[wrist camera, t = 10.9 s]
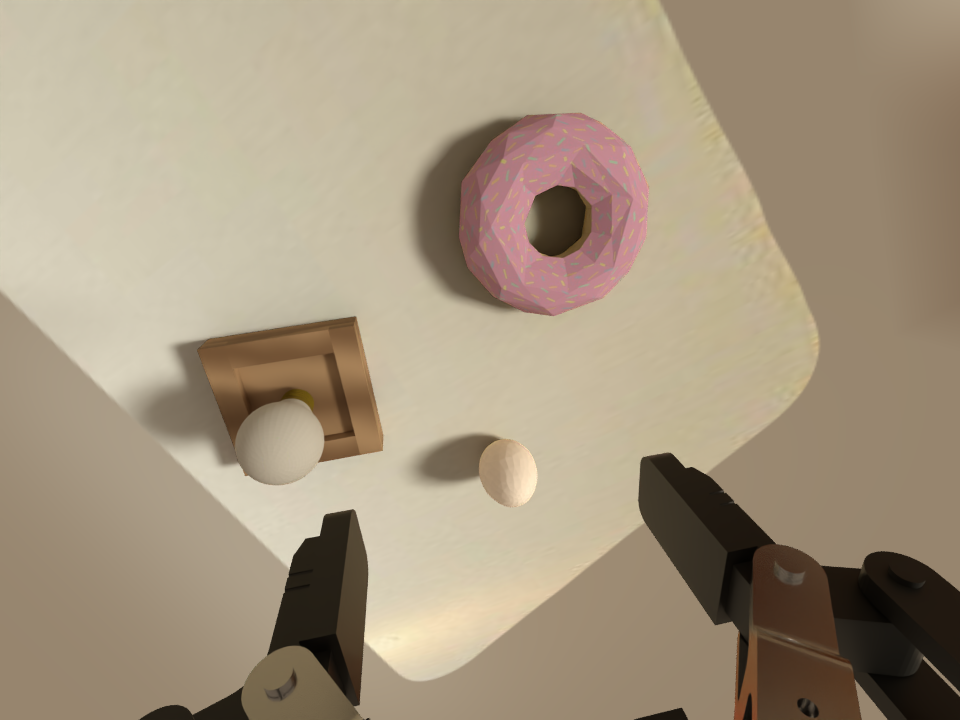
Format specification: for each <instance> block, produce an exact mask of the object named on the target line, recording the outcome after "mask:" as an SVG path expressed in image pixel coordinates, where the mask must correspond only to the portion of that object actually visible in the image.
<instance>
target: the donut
mask: <svg viewBox="0 0 960 720" xmlns="http://www.w3.org/2000/svg"><path fill="white" fill-rule="evenodd" d="M556 185H560V186H568V187H570V188H572V189H574V190H576V191H577V193H578V194H579V196H580V198H581V199H582V201H583V202H584V204H585V206H586V211H585V218H584V224H583V230H582V237H581V238H580V239H579V240H578V241H577V242H575V243H574V244H573V245H572V246H571V247H569V248H568V249H567V250H566V251H565V252H564V253H562V254H559V255H556V256H548V255H545V254H542V253H539V252H538V251H537V250H536V249H535V248H534V247H533V246H532V245H531V244H530V243H529V241H528V237H527V232H526V228H525V224H524V223H525V220H526V218H527V215H528V213H529V211H530V208H531V206H532V203H533V201H534V198H535V196H536V195H538V194H540V193H542V192H544V191H546V190H548V189H550V188H552V187H554V186H556ZM648 192H649V186H648V184H647V181H646V179H645V177H644V175H643V173H642V170H641V168H640V166H639V164H638V162H637V159H636V157H635V155H634V153H633V151H632V148H631V147H630V146H629V145H628V144H627V143H626V142H625V141H624V140H623V139H621V138H620V137H619V136H617V135H616V134H615V133H614V132H612V131H611V130H610V129H609V128H607V127H606V126H605V125H604V124H602V123H601V122H599V121H597V120H595V119H593V118H590V117H588V116H586V115H584V114H582V113H566V114H545V115H527V116H526V117H524V118H523V119H521V120H520V121H518V122H517V123H516V124H514V125H513V126H511V127H510V128H508V129H507V130H506V131H504V132H503V133H501V134H500V135H499V136H497V137H496V138H494V139H493V140H491V142H490V143H489V145H488V146H487V147H486V149H485V150H484V152H483V153H482V154H481V156H480V157H479V159H478V160H477V161H476V163H475V164H474V165H473V167H472V168H471V170H470V171H469V172H468V174H467V175H466V177H465V178H464V179H463V181H462V185H461V206H460V226H459V239H460V243H461V246H462V250H463V253H464V257H465V260H466V264H467V268H468V269H469V270H470V271H471V272H472V273H473V275H474V276H475V277H476V278H477V279H478V280H479V281H480V282H481V283H482V285H483V286H484V287H485V288H486V289H487V290H488V291H489V292H490V294H491V295H492V296H493V297H495V298H497V299H499V300H501V301H503V302H505V303H507V304H509V305H511V306H513V307H515V308H517V309H519V310H521V311H523V312H527V313H535V314H542V315H550V316H555V315H558V314H561V313H563V312H566V311H569V310H572V309H574V308H577V307H580V306H582V305H585V304H588V303H591V302H593V301H596V300H599V299H601V298H604V297H605V296H606V295H607V294H608V293H609V292H610V291H611V289H612V288H613V287H614V286H615V285H616V284H617V283H618V282H619V281H620V280H621V279H622V278H623V277H624V276H625V275H626V274H627V273H628V272H629V270H630V268H631V266H632V264H633V262H634V260H635V258H636V257H637V255H638V253H639V251H640V249H641V247H642V245H643V243H644V241H645V239H646V232H647V212H648Z"/></svg>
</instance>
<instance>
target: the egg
mask: <svg viewBox="0 0 960 720" xmlns="http://www.w3.org/2000/svg"><path fill="white" fill-rule="evenodd" d="M479 475H480V479H481V482H482V485H483V487H484V489H485V490H486V492H487V493H488V494H489V495H490V496H491V497H492V498H493V499H494V500H495V501H497V502H498V503H500V504H502V505H504V506H507V507H517V506H521V505H523V504H524V503H526V502H527V501H528V500H529V499H530V498H531V497H532V495H533V493H534V490H535V487H536V483H537V469H536V465H535V462H534V459H533V457H532V455H531V454H530V452H529V451H528V450H527V449H526V447H524V446H523V445H522V444H520V443H518V442H517V441H514V440H510V439H501V440H497V441H495V442H493V443H491V444H490V445H489V446H488V447H487V448H486V449H485V450H484V452H483V453H482V456H481V458H480V462H479Z"/></svg>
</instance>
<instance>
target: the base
mask: <svg viewBox="0 0 960 720" xmlns="http://www.w3.org/2000/svg"><path fill="white" fill-rule="evenodd" d="M197 351H198V354H199V356H200V359H201V361H202V364H203V367H204V369H205V372H206V375H207V377H208V380H209V382H210V385H211V388H212V390H213V393H214V396H215V398H216V401H217V403H218V406H219V409H220V411H221V414H222V417H223V419H224V422H225V424H226V427H227V430H228V432H229V435H230V437H231V440H232V443H233V445H234V448H235V440H236V436H237V433H238V430H239V428H240V426H241V424H242V423H243V422H244V420H245V419H246V418H247V417H248V416H249V415H250V414H251V413H252V412H253V411H255V410H256V409H258V408H260V407H262V406H264V405H266V404H270V403H274V402H280V400H281V399H282V397H283V395H284V394H285V393H286V392H288V391H290V390H292V389H302V390H305V391H307V392H308V393H309V394H310V395H311V396H312V397H313V400H314V408H313V412H312V413H313V414H314V415H315V416H316V417H317V419H318V420H319V422H320V424H321V426H322V429H323V433H324V448H323V452H322V455H321V458H320V459H319V461H318V462H324V461H329V460H335V459H340V458H345V457H351V456H356V455H362V454H367V453H373V452H378V451H383V432H382V428H381V424H380V419H379V415H378V410H377V406H376V402H375V397H374V393H373V388H372V384H371V380H370V375H369V371H368V366H367V362H366V358H365V353H364V349H363V344H362V340H361V336H360V331H359V327H358V322H357V318H356V317H350V318H343V319H337V320H330V321H324V322H317V323H311V324H304V325H298V326H291V327H285V328H278V329H272V330H265V331H258V332H252V333H245V334H239V335H232V336H226V337H219V338H213V339H209V340H207V341H206V342H205V343H204V344H203V345H202V346H201V347H200V348H199V349H198V350H197ZM243 472H244V474H245V476H248V474H247V473H245V471H244V470H243Z"/></svg>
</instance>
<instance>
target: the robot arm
mask: <svg viewBox="0 0 960 720" xmlns="http://www.w3.org/2000/svg"><path fill="white" fill-rule="evenodd" d="M638 501H639V508H640V512H641V515H642V517H643V519H644V521H645V523H646V524H647V526H648V527H649V529H650V530H651V532H652V533H653V535H654V536H655V538H656V539H657V541H658V542H659V543H660V545H661V546H662V548H663V549H664V551H665V552H666V554H667V555H668V557H669V558H670V560H671V561H672V562H673V564H674V566H675V567H676V568H677V570H678V571H679V573H680V574H681V576H682V577H683V579H684V580H685V581H686V583H687V584H688V586H689V588H690V589H691V590H692V592H693V593H694V595H695V596H696V598H697V599H698V601H699V602H700V604H701V605H702V606H703V608H704V610H705V611H706V612H707V614H708V615H709V617H710V618H711V620H712V621H713V623H714V624H715V625H718V624H723V623H727V622H731V621H732V622H733V623H734V624H735V626H736V627H737V629H738V630H739V631H738V637H737V655H736V656H737V657H736V682H735V709H734V720H862V718H861V713H860V707H859V701H858V696H857V690H856V684H855V680H856V681H857V682H858V683H859V685H860V686H861V687H862V688H863V690H864V691H865V692H866V693H867V695H868V696H869V697H870V698H871V700H872V701H873V702H874V703H875V704H876V706H877V707H878V708H879V709H880V711H881V712H882V713H883V714H884V715H885V717H886V718H887V719H888V720H960V697H959V696H958V695H957V694H956V693H955V692H954V691H953V690H952V688H951V687H950V686H948V684H947V683H946V682H945V681H944V680H943V679H942V678H941V677H940V676H939V675H938V674H937V673H936V672H935V671H934V670H933V669H932V668H931V667H930V666H929V665H928V664H927V663H926V662H925V661H924V660H923V657H924V656H925V657H926V658H927V659H928V660H929V661H930V662H931V663H932V664H933V665H934V666H935V667H936V668H937V669H938V670H939V671H940V672H941V673H942V674H943V675H944V676H945V677H946V678H947V679H948V680H949V681H950V682H951V683H952V684H953V685H954V686H955V687H956V688H957V690H958V691H959V692H960V592H959V591H958V590H957V589H956V588H955V587H954V586H952V585H951V584H950V583H949V582H947V581H946V580H945V579H944V578H942V577H941V576H940V575H939V574H938V573H936V572H935V571H934V570H932V569H931V568H929V567H928V566H927V565H925V564H923V563H921V562H919V561H917V560H915V559H913V558H911V557H908V556H905V555H902V554H898V553H894V552H885V551H883V552H882V551H881V552H875V553H871V554H869V555H868V556H867V557H866V558H865V560H864V562H863V565H862V568H861V569H856V568H844V567H829V566H821V565H820V564H819V563H818V562H817V561H816V560H814V559H813V558H812V557H810V556H809V555H807V554H806V553H804V552H802V551H800V550H798V549H795V548H793V547H789V546H785V545H779V544H776V543H775V542H774V541H773V540H772V539H771V538H770V537H769V536H768V535H767V534H766V533H765V532H764V531H763V530H762V529H761V528H760V527H759V526H758V525H757V524H756V523H755V522H754V521H753V520H752V519H751V518H750V517H749V516H748V515H747V514H746V513H745V512H744V511H743V510H742V509H741V508H740V507H739V506H738V505H737V504H735V503H734V501H733V500H732V499H731V497H730V496H728V494H727V493H724V491H723V489H722V488H721V487H720V486H719V485H718V484H717V483H716V482H715V481H714V480H713V479H712V478H711V477H709V476H707V475H706V474H704V473H702V472H700V471H699V470H697V469H695V468H693V467H690V468H685V467H684V466H683V465H682V464H681V463H680V462H679V460H678V459H677V458H676V457H675V456H674V455H673V454H671V453H663V454H657V455H652V456H646V457H643V458H642V460H641V464H640V480H639V497H638ZM367 587H368V561H367V554H366V550H365V546H364V542H363V538H362V534H361V530H360V527H359V523H358V519H357V515H356V512H355V510H354V509H352V510H347V511H341V512H336V513H330V514H326V515H325V516H324V518H323V523H322V528H321V533H320V536H318V537H312V538H307V539H305V540H304V542H303V543H302V545H301V546H300V547H299V549H298V550H297V552H296V553H295V554H294V556H293V559H292V563H291V567H290V571H289V578H287V582H286V586H285V593H284V594H283V598H282V602H281V606H280V609H279V613H278V617H277V621H276V625H275V629H274V632H273V636H272V640H271V644H270V648H269V652H268V654H267V656H266V657H265V658H264V659H262V660H261V661H260V662H259V663H258V664H257V666H255V667H254V669H253V670H252V671H251V673H250V674H249V676H248V678H247V680H246V681H245V684H244V686H243V687H242V688H240V689H239V690H238V691H236V692H235V693H233V694H231V695H230V696H228V697H226V698H224V699H222V700H220V701H218V702H216V703H215V704H213V705H211V706H209V707H207V708H205V709H203V710H201V711H199V712H197V713H195V714H194V715H192V714H191V712H190V711H189V710H188V709H187V708H185V707H183V706H179V705H170V706H165V707H162V708H159V709H157V710H155V711H153V712H151V713H149V714H147V715H146V716H144V717H143V718H141V719H140V720H364V719H363V718H362V717H361V716H360V714H359V713H358V712H357V711H356V709H355V708H354V706H357V705H360V690H361V675H362V661H363V645H364V631H365V616H366V601H367ZM366 720H371V719H369V718H367V719H366ZM635 720H688V719H687V717H686V715H685V713H684V711H683V709H682V708H679V709H674V710H671V711H667V712H662V713H658V714H654V715H651V716H646V717H642V718H638V719H635Z"/></svg>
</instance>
